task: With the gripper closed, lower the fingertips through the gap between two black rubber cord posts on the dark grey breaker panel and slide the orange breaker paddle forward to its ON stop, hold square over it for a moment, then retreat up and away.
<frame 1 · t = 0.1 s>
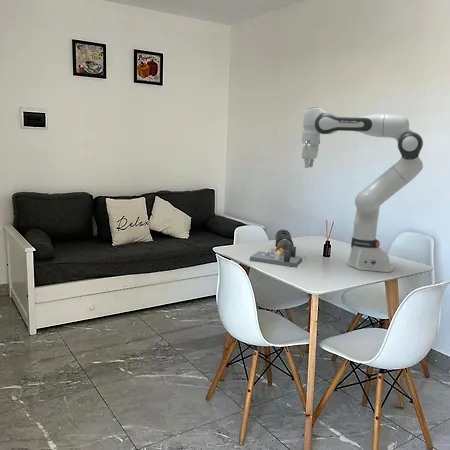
hand: (308, 167, 236), 48 cm above the table, fingers open, 8 cm apart
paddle: (280, 252, 235), point 4 cm above the table, slide at 0.0 cm
muzzle brake: (283, 251, 255), on the table, touching panel
panel: (276, 260, 236), on the table
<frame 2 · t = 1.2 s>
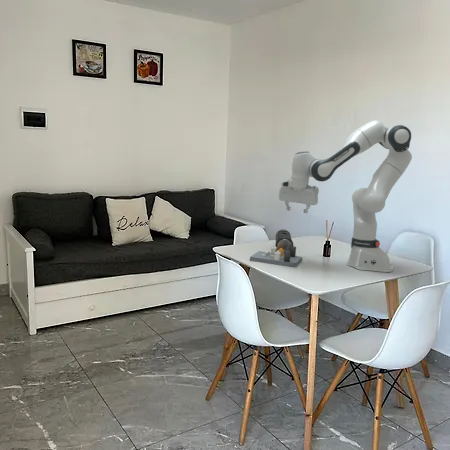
hand: (296, 211, 231), 26 cm above the table, fingers open, 8 cm apart
nothing on the table moved.
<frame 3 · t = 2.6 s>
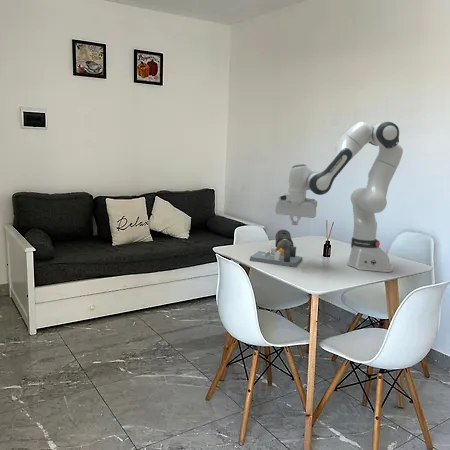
hand: (294, 224, 230), 20 cm above the table, fingers closed
nothing on the table moved.
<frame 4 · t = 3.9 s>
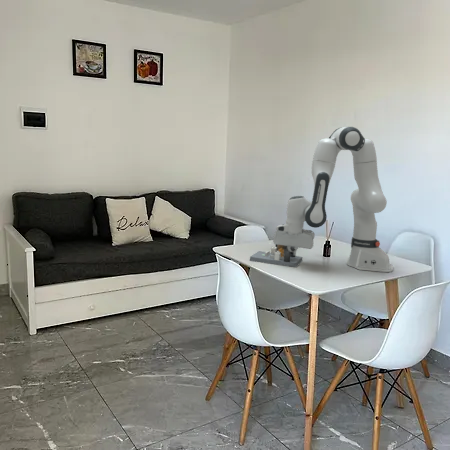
hand: (292, 254, 232), 4 cm above the table, fingers closed
nothing on the table moved.
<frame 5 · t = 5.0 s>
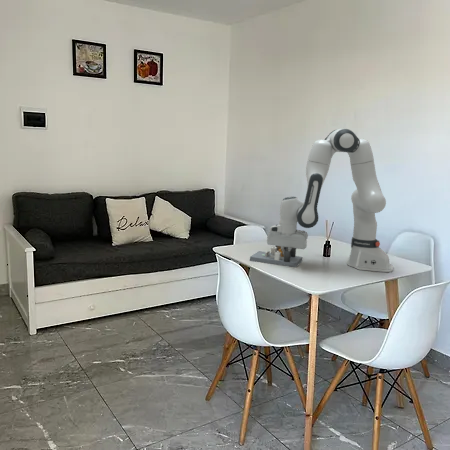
hand: (285, 255, 234), 4 cm above the table, fingers closed
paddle: (280, 252, 235), point 4 cm above the table, slide at 0.0 cm, touching gripper
everything else where it was.
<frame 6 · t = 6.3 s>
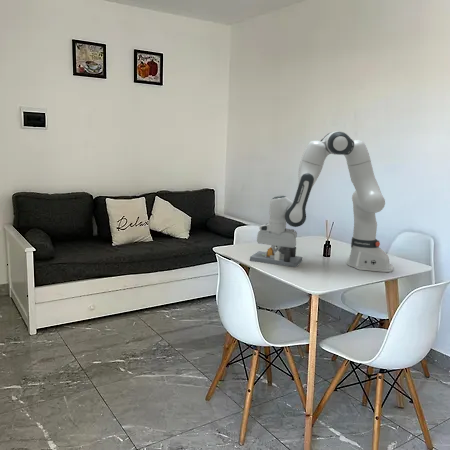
hand: (275, 253, 236), 4 cm above the table, fingers closed
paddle: (270, 251, 237), point 4 cm above the table, slide at 5.2 cm, touching gripper
everything else where it was.
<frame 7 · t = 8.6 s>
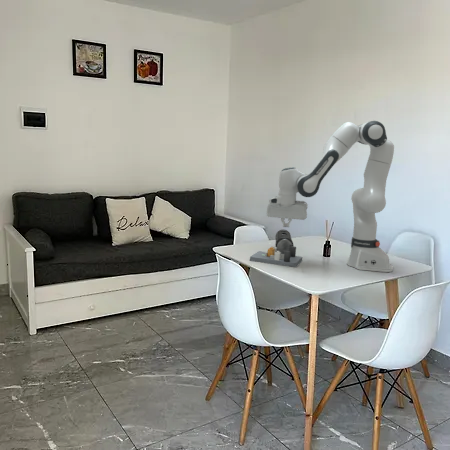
hand: (286, 226, 233), 18 cm above the table, fingers closed
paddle: (271, 251, 237), point 4 cm above the table, slide at 5.0 cm
everything else where it was.
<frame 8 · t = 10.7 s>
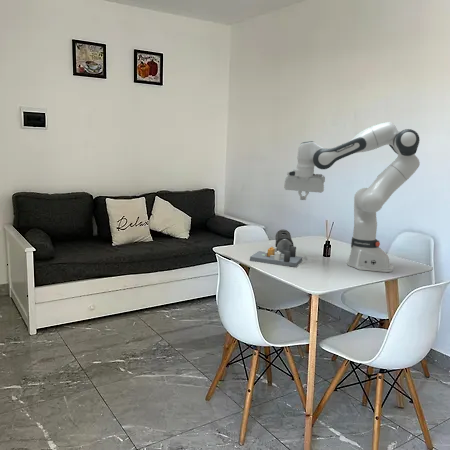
hand: (303, 199, 238), 31 cm above the table, fingers closed
nothing on the table moved.
at the end: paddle slide at 5.0 cm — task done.
